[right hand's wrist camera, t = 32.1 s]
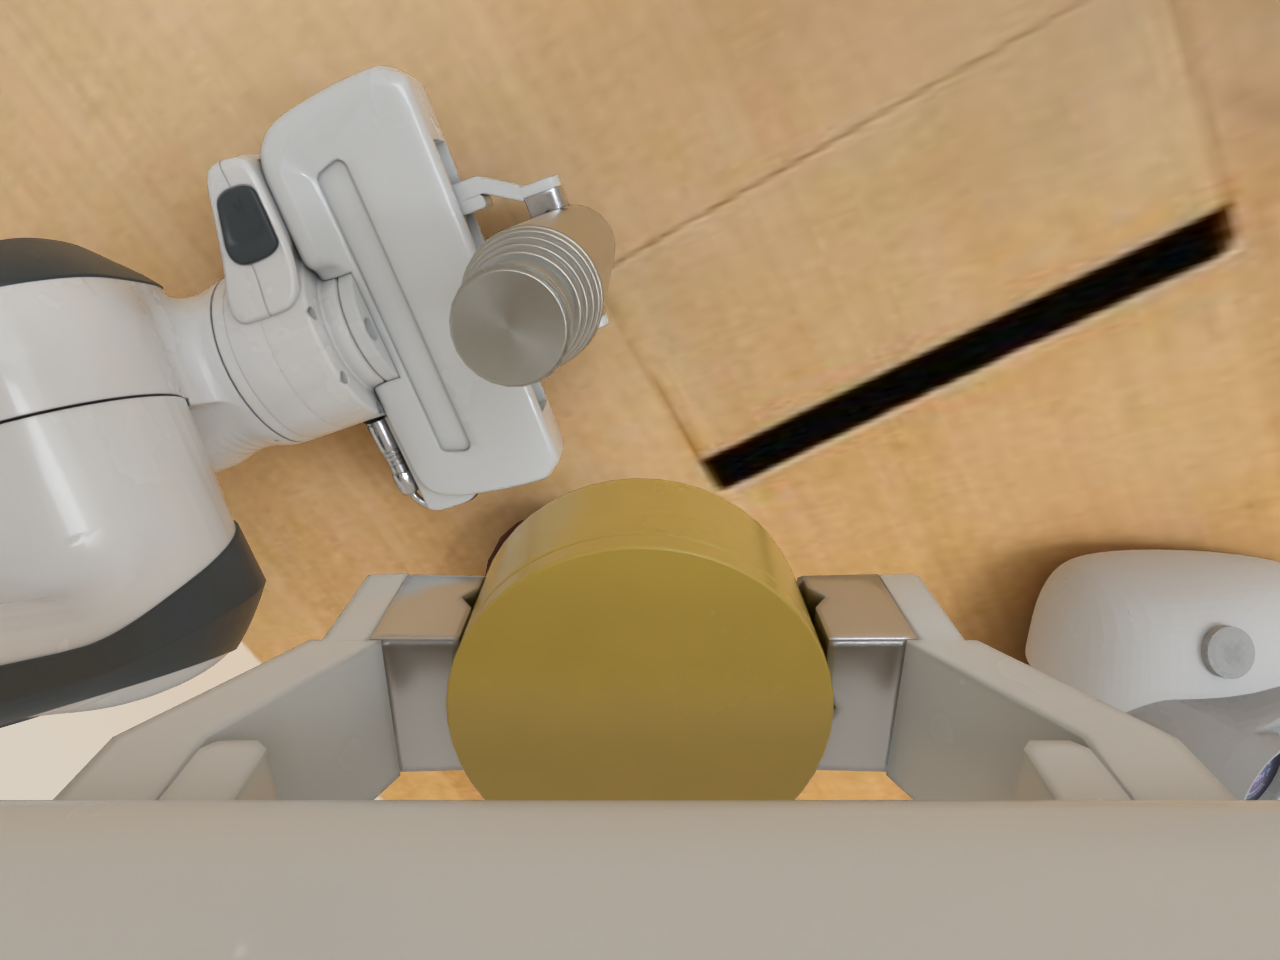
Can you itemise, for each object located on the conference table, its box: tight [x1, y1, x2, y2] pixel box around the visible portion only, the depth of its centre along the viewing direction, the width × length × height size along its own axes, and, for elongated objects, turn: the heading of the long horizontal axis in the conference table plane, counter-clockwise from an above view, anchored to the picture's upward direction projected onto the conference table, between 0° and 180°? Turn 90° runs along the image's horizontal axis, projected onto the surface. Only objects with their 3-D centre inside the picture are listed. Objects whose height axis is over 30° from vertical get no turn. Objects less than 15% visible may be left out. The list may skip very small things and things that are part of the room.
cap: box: [446, 478, 834, 800], centre depth 9 cm, size 4×4×2 cm
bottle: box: [449, 205, 615, 387], centre depth 30 cm, size 4×4×25 cm
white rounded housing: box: [1025, 549, 1280, 800], centre depth 45 cm, size 22×23×15 cm
